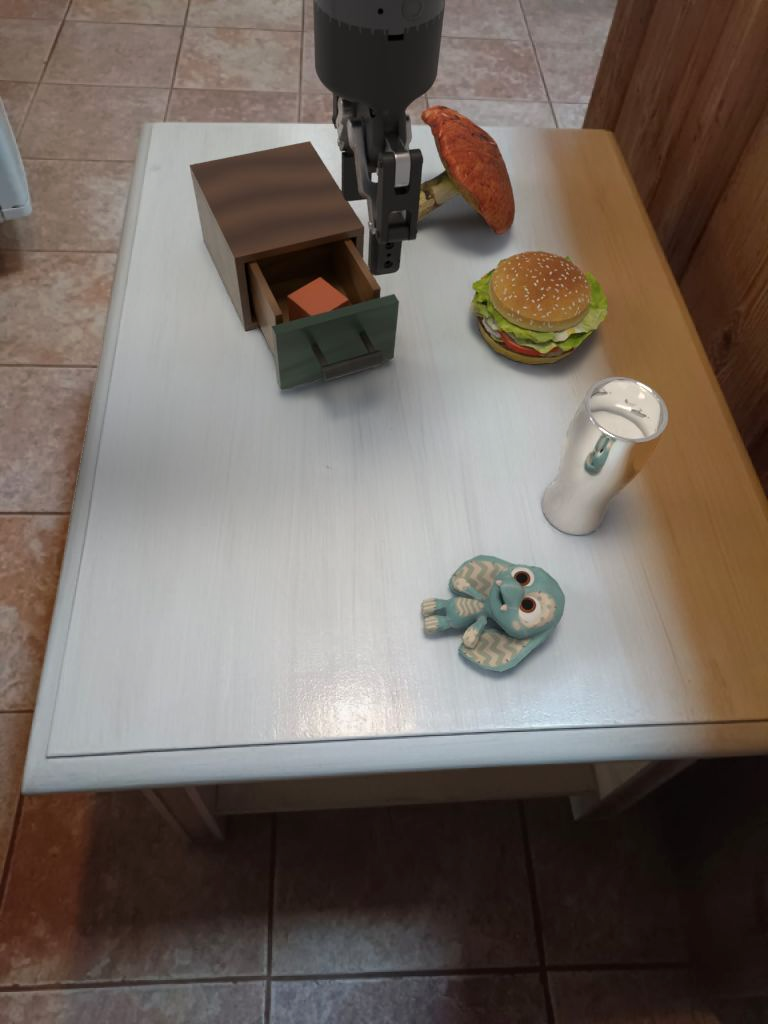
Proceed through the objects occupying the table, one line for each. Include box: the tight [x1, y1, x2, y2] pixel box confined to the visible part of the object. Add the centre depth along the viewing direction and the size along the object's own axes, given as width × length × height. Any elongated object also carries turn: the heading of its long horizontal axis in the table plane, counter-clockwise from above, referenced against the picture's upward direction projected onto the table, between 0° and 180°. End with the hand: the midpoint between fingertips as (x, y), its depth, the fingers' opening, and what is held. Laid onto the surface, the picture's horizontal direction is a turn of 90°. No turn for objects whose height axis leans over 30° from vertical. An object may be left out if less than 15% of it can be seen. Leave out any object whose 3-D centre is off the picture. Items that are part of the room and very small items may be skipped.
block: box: [288, 277, 349, 322], centre depth 75 cm, size 4×4×4 cm
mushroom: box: [392, 104, 516, 236], centre depth 86 cm, size 16×15×15 cm
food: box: [470, 250, 609, 365], centre depth 78 cm, size 14×14×8 cm
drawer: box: [244, 238, 400, 392], centre depth 74 cm, size 19×13×8 cm
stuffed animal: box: [420, 554, 566, 673], centre depth 60 cm, size 11×7×12 cm
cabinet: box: [189, 140, 365, 332], centre depth 80 cm, size 16×14×10 cm
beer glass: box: [541, 376, 669, 536], centre depth 63 cm, size 7×7×15 cm
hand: (369, 233), depth 55 cm, fingers open, 8 cm apart
